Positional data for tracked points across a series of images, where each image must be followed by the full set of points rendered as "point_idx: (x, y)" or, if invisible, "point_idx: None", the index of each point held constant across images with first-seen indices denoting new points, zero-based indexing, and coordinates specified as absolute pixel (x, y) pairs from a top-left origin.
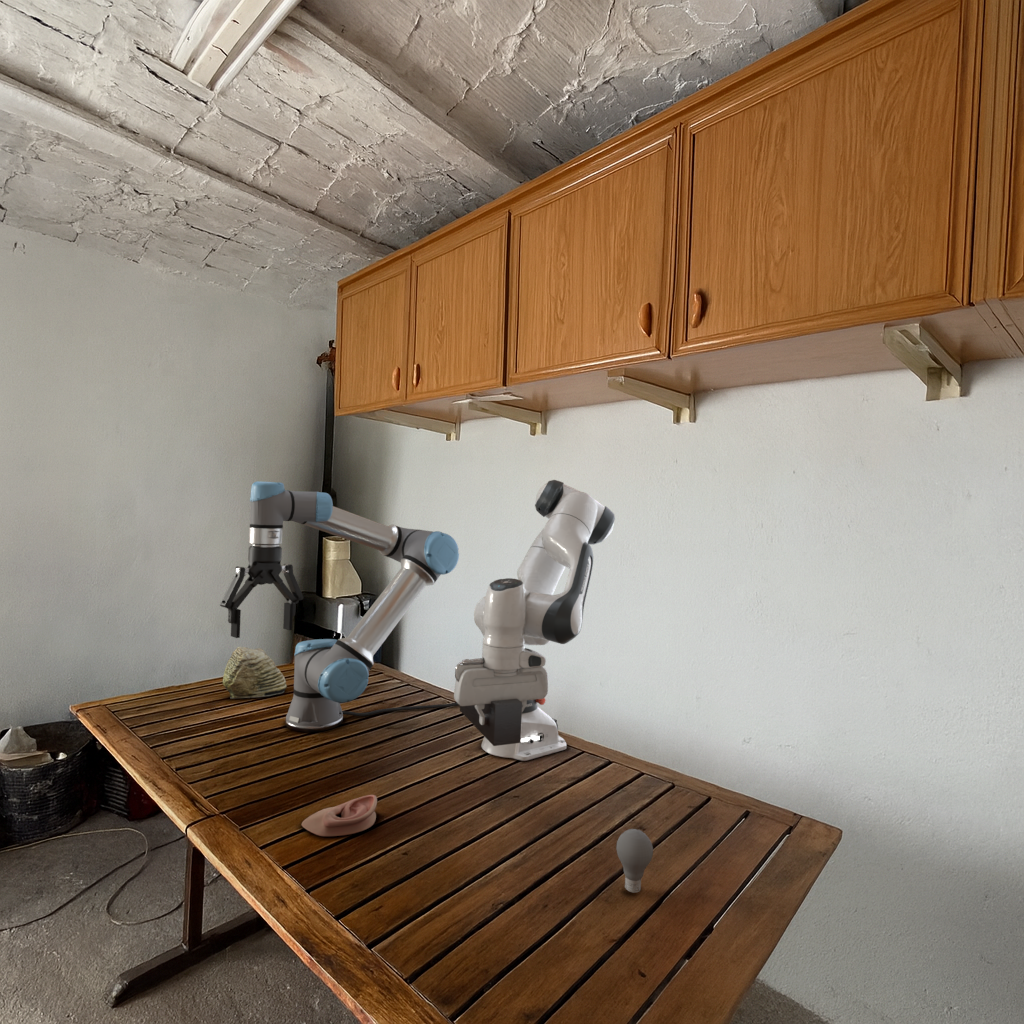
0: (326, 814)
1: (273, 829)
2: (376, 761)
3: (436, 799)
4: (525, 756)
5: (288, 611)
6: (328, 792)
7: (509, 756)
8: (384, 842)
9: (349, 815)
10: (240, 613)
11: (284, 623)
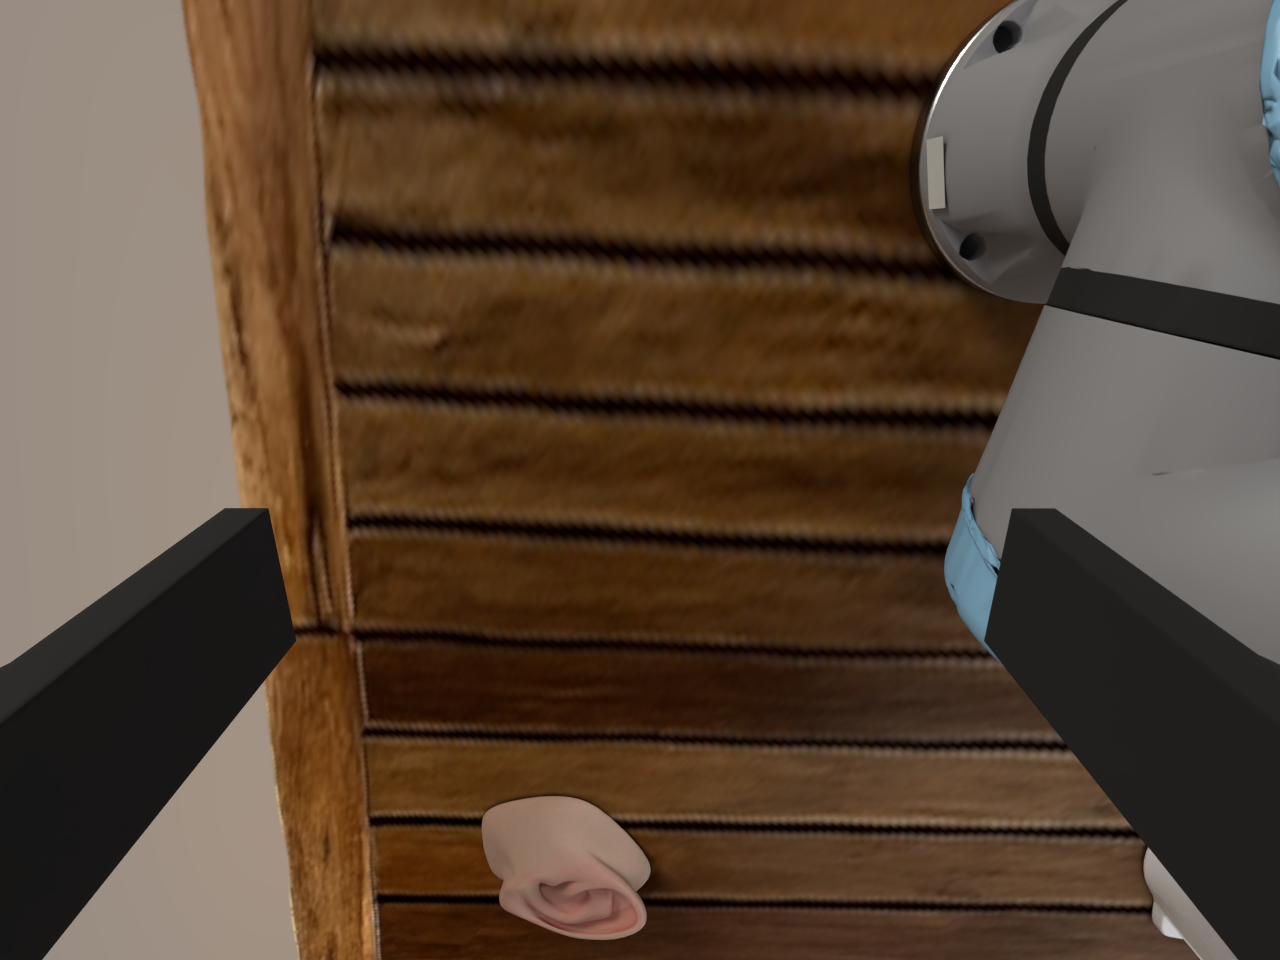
0: (512, 890)
1: (428, 780)
2: (889, 662)
3: (808, 908)
4: (1167, 935)
5: (1164, 814)
6: (640, 723)
7: (1154, 895)
8: (585, 950)
9: (565, 899)
10: (58, 937)
11: (1049, 567)
